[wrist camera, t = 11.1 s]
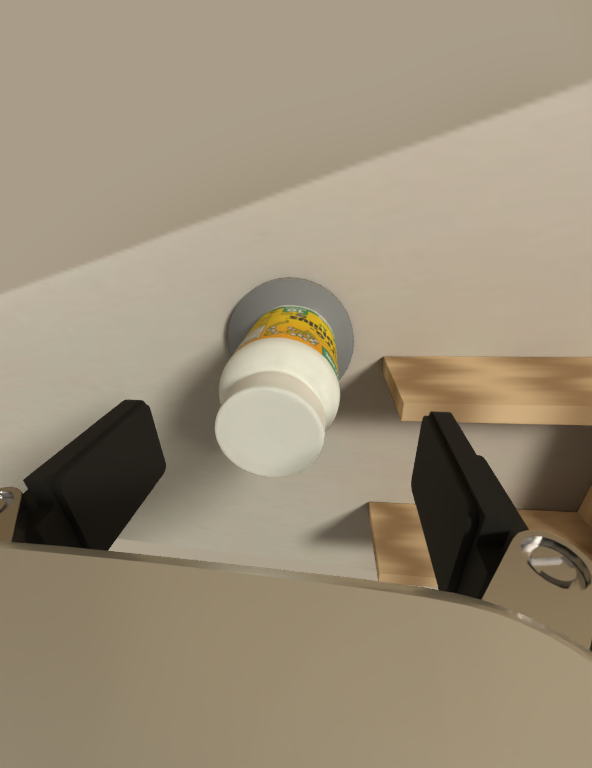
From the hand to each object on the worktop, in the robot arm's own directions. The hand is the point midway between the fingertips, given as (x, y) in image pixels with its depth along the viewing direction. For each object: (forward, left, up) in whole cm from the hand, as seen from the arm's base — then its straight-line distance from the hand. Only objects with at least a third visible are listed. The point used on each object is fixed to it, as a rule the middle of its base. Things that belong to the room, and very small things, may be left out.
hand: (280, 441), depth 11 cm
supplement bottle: (+1, 0, -10) cm, 10 cm away
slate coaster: (+1, 0, -11) cm, 11 cm away
